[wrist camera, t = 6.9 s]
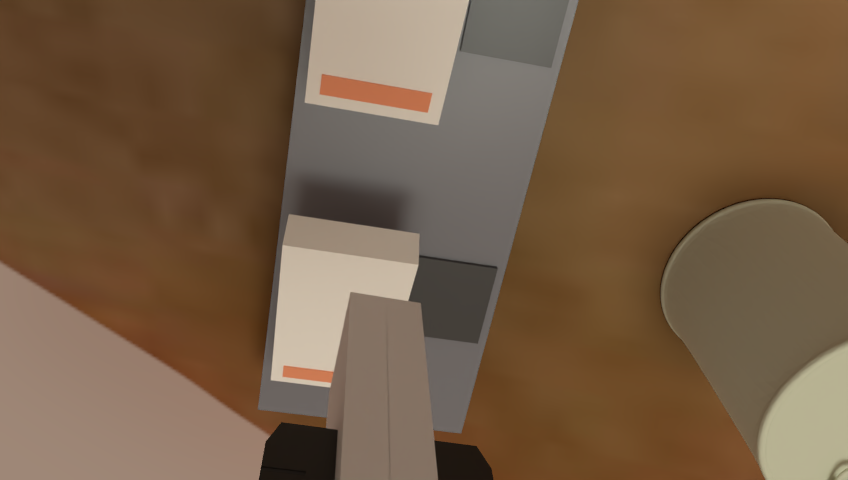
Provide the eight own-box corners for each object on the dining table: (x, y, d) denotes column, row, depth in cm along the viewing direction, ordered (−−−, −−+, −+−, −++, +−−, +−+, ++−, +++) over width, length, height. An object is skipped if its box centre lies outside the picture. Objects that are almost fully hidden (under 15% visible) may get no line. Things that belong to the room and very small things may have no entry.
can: (636, 341, 40) (726, 514, 30) (695, 184, 36) (825, 319, 26) (794, 363, 42) (936, 537, 31) (868, 213, 38) (1062, 354, 27)
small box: (288, 214, 28) (282, 246, 27) (419, 234, 29) (418, 266, 28) (276, 350, 35) (270, 381, 34) (383, 364, 35) (381, 395, 34)
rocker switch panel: (370, -472, 25) (366, -550, 20) (654, -396, 26) (713, -452, 22) (269, 360, 40) (253, 427, 35) (454, 383, 41) (463, 451, 36)
